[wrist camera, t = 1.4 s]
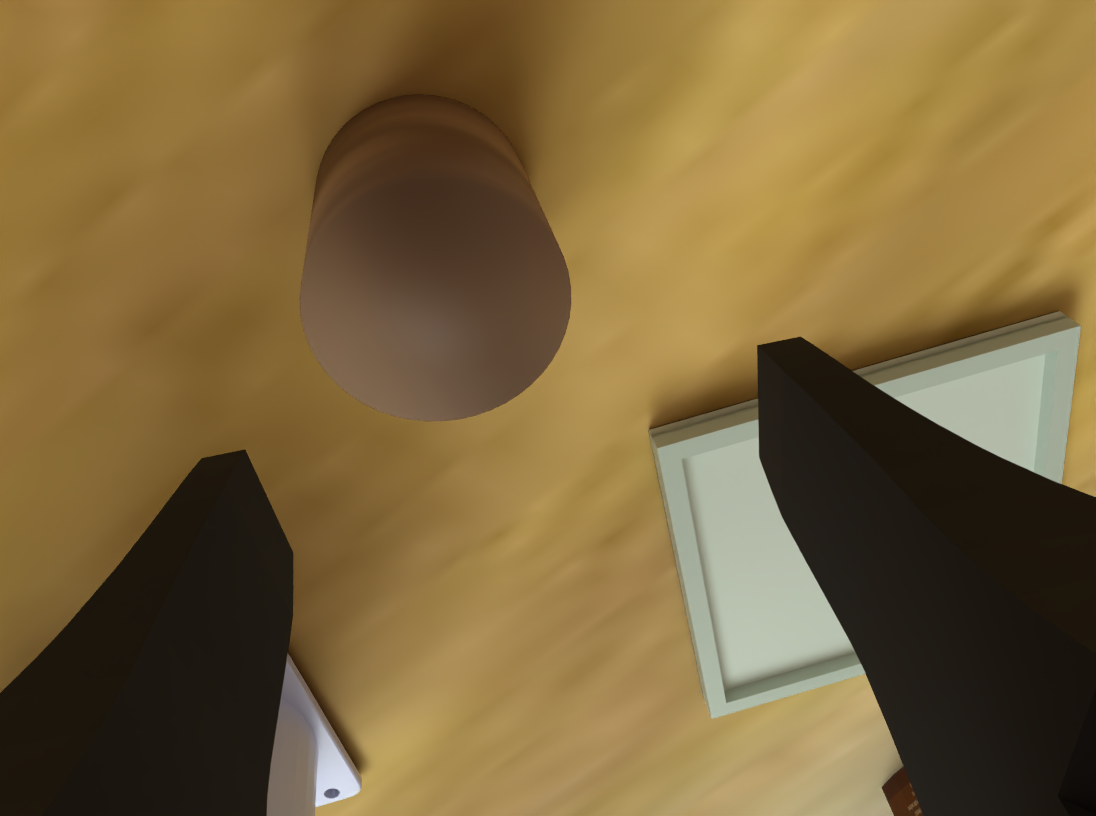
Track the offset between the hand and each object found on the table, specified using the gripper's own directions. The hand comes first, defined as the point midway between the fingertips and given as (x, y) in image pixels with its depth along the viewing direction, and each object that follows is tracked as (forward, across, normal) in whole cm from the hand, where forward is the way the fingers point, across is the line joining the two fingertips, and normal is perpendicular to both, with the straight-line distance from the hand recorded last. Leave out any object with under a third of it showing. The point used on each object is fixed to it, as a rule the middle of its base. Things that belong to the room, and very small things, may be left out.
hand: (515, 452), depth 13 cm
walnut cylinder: (+10, +1, 0) cm, 10 cm away
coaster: (+10, -10, +14) cm, 19 cm away
